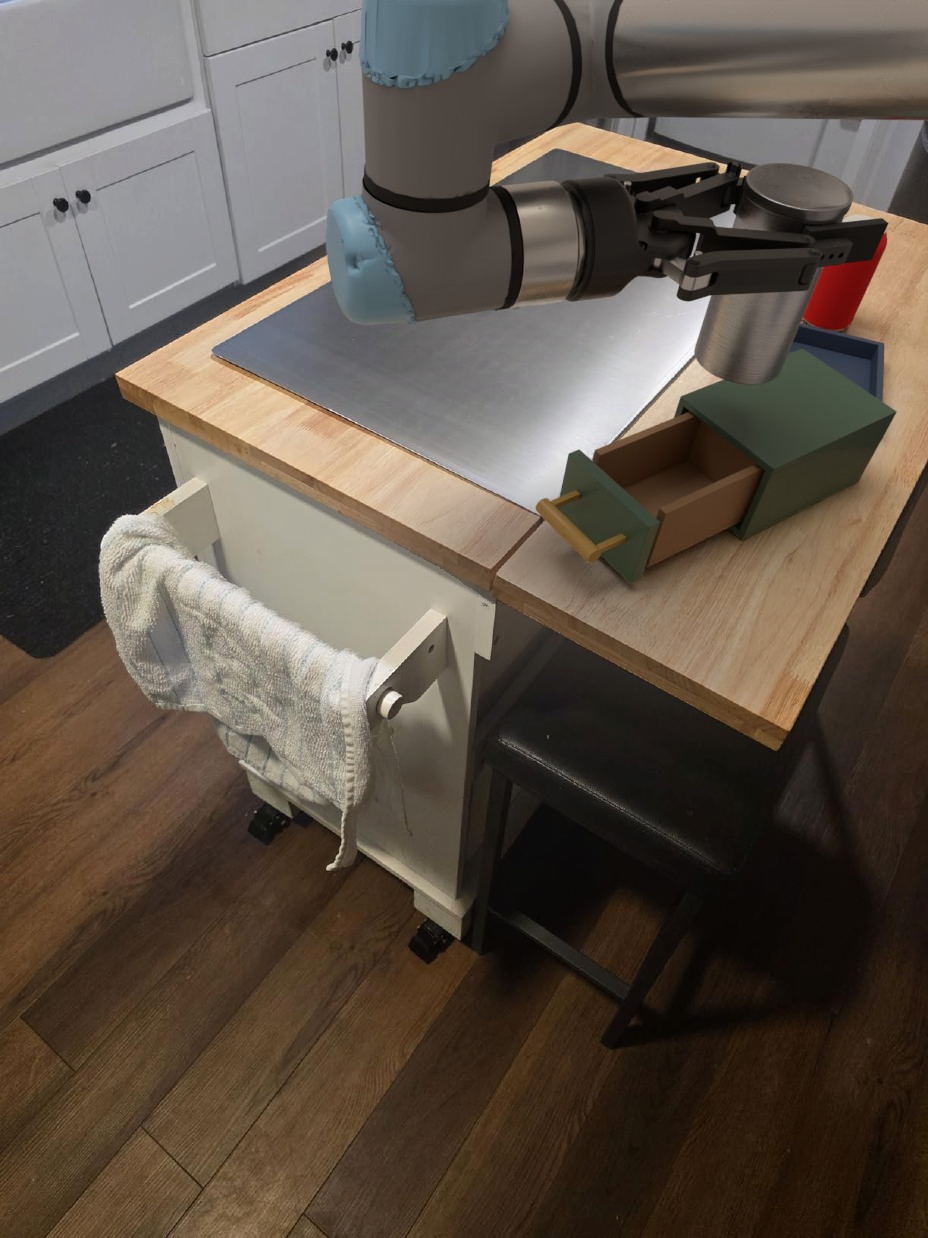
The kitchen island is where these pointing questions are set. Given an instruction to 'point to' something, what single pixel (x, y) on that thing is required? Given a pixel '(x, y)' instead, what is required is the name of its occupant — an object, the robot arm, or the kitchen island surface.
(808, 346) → the tray
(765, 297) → the silver tall cylinder
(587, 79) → the robot arm
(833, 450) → the cabinet
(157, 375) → the kitchen island surface
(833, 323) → the beverage can
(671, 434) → the drawer
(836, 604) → the kitchen island surface
